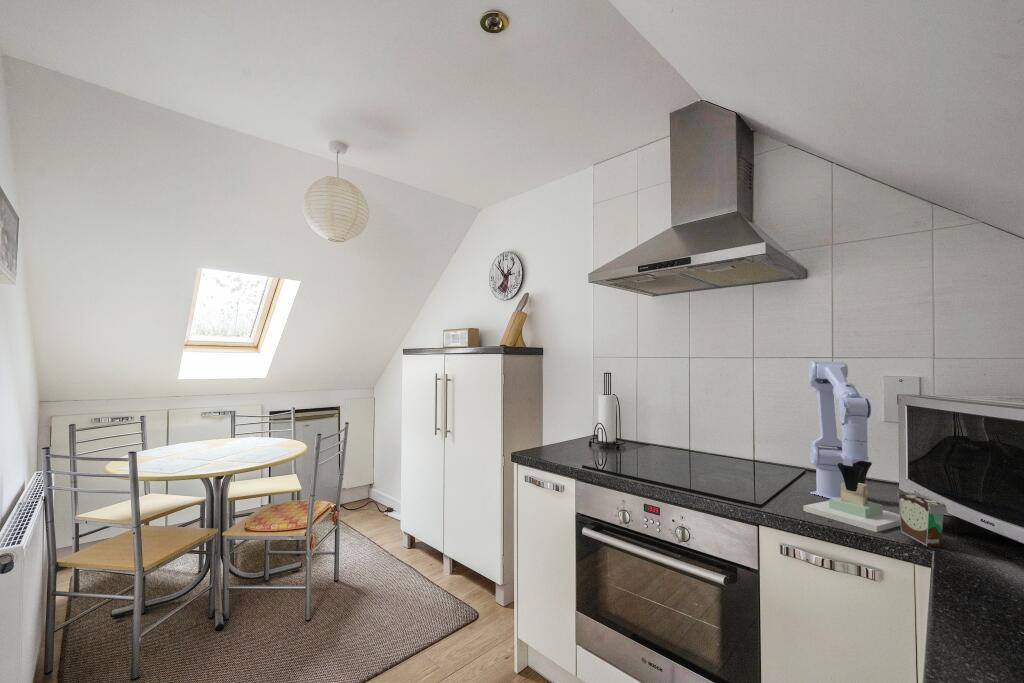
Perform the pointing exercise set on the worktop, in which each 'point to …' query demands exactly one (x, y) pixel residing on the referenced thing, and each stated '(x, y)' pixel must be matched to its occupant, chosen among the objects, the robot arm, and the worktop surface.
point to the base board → (855, 520)
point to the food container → (921, 517)
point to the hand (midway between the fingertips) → (855, 488)
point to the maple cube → (854, 494)
